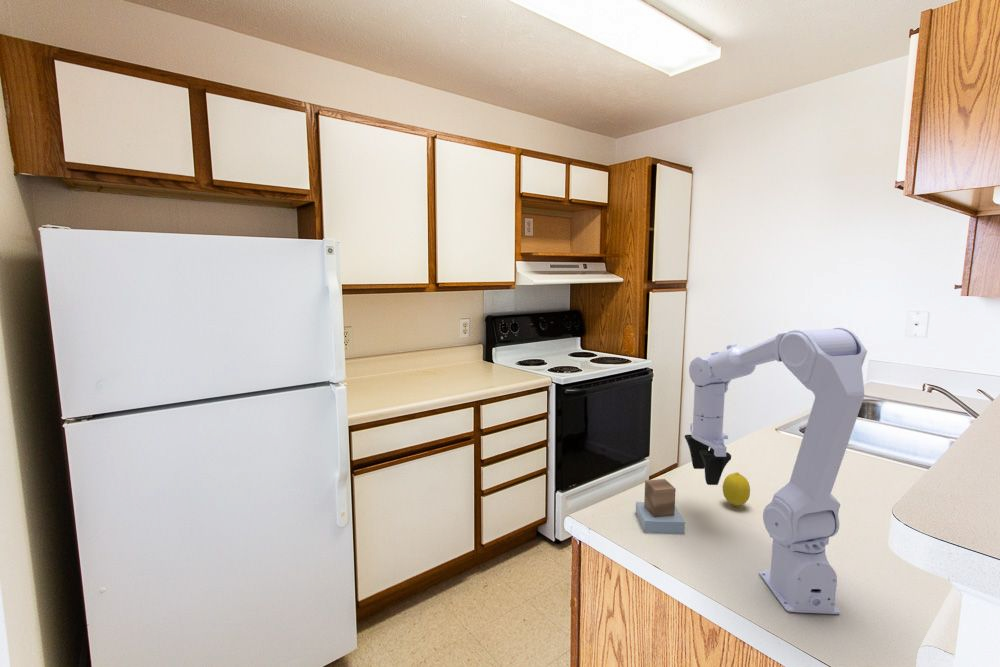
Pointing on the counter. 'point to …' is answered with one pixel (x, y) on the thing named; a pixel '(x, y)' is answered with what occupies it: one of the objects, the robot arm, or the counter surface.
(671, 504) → the walnut block
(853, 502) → the counter surface
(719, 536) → the counter surface
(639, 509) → the blue-gray block
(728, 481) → the lemon
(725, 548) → the counter surface
